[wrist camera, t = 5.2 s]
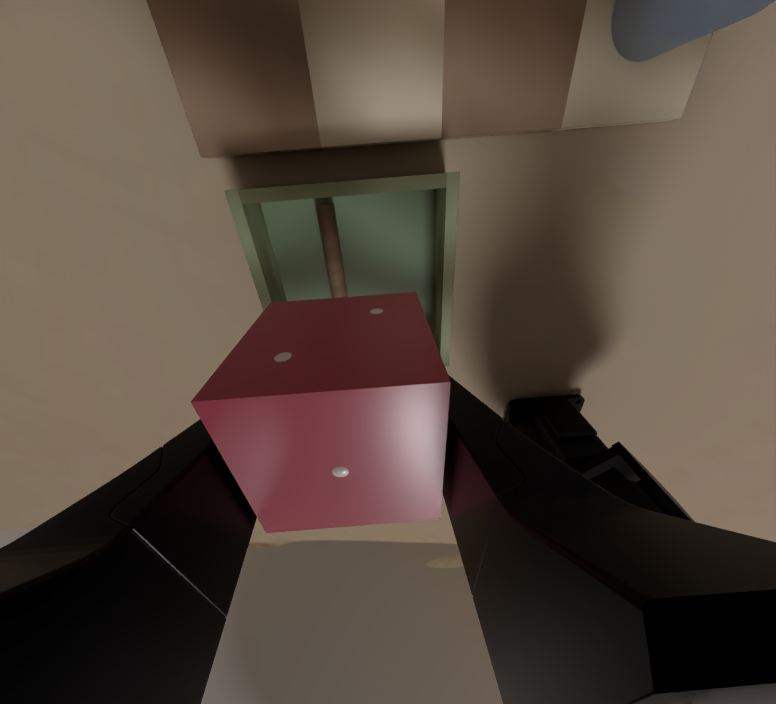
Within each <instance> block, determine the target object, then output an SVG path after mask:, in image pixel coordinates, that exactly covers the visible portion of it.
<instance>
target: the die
mask: <svg viewBox="0 0 776 704" xmlns="http://www.w3.org/2000/svg"><path fill="white" fill-rule="evenodd" d="M450 385H451V381H450V379H449V376H448V374H447V371H446V368H445V366H444V363H443V361H442V358H441V355H440V353H439V350H438V348H437V345H436V342H435V340H434V337H433V334H432V332H431V329H430V327H429V324H428V321H427V319H426V316H425V314H424V311H423V308H422V306H421V303H420V301H419V298H418V295H417V293H416V292H407V293H394V294H380V295H366V296H353V297H339V298H326V299H312V300H298V301H285V302H271V303H270V304H269V305H268V306H267V308H266V309H265V310H264V311H263V313H262V314H261V315H260V316H259V318H258V319H257V320H256V321H255V323H254V324H253V325H252V326H251V328H250V329H249V330H248V331H247V333H246V334H245V335H244V336H243V338H242V339H241V340H240V341H239V342H238V344H237V345H236V346H235V347H234V349H233V350H232V351H231V352H230V354H229V355H228V356H227V357H226V359H225V360H224V361H223V362H222V364H221V365H220V366H219V367H218V369H217V370H216V371H215V372H214V374H213V375H212V376H211V377H210V379H209V380H208V381H207V382H206V384H205V385H204V386H203V387H202V389H201V390H200V391H199V392H198V393H197V395H196V396H195V397H194V398H193V400H192V401H191V403H192V405H193V407H194V409H195V410H196V412H197V414H198V415H199V417H200V419H201V421H202V422H203V424H204V426H205V428H206V429H207V431H208V433H209V435H210V436H211V438H212V440H213V441H214V443H215V445H216V447H217V448H218V450H219V452H220V454H221V455H222V457H223V459H224V461H225V462H226V464H227V466H228V467H229V469H230V471H231V473H232V474H233V476H234V478H235V480H236V481H237V483H238V485H239V487H240V488H241V490H242V492H243V494H244V495H245V497H246V499H247V500H248V502H249V504H250V506H251V507H252V509H253V511H254V513H255V514H256V516H257V518H258V520H259V521H260V523H261V525H262V526H263V528H264V530H265V532H266V533H273V532H285V531H298V530H310V529H322V528H334V527H347V526H359V525H371V524H383V523H396V522H408V521H420V520H432V519H440V515H441V502H442V489H443V476H444V463H445V450H446V437H447V424H448V411H449V398H450Z"/></svg>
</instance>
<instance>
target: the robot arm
mask: <svg viewBox="0 0 776 704" xmlns="http://www.w3.org/2000/svg"><path fill="white" fill-rule="evenodd" d="M448 376H449V375H448ZM449 379H450V381H451V385H450V398H449V411H448V424H447V437H446V450H445V463H444V476H443V489H442V492H443V496H444V499H445V503H446V506H447V510H448V513H449V517H450V520H451V524H452V527H453V531H454V534H455V537H456V541H457V544H458V548H459V551H460V555H461V558H462V562H463V565H464V568H465V572H466V576H467V579H468V582H469V586H470V589H471V593H472V595H473V600H474V603H475V607H476V610H477V614H478V617H479V621H480V624H481V628H482V631H483V635H484V638H485V642H486V645H487V649H488V652H489V655H490V659H491V662H492V666H493V669H494V672H495V676H496V680H497V683H498V687H499V690H500V694H501V697H502V700H503V703H504V704H776V542H772V541H768V540H764V539H760V538H756V537H752V536H748V535H744V534H740V533H736V532H732V531H728V530H724V529H720V528H716V527H712V526H708V525H704V524H700V523H697V522H695V521H694V520H693V519H692V518H691V517H690V516H689V514H688V513H687V512H686V511H685V510H684V509H683V508H682V507H681V505H680V504H679V503H678V502H677V501H676V500H675V499H674V498H673V496H672V495H671V494H670V493H669V492H668V491H667V490H666V489H665V488H664V487H663V486H662V485H661V484H660V483H659V482H658V481H657V480H656V478H655V477H654V476H653V475H652V474H651V473H650V472H649V471H648V470H647V469H646V468H645V467H644V466H643V465H642V464H641V463H640V462H639V461H638V460H637V459H636V458H635V457H634V456H633V455H632V454H631V453H630V452H629V451H628V450H627V449H626V448H625V447H624V446H623V445H622V444H621V443H620V442H617V443H615V444H613V445H612V447H611V448H609V449H608V448H607V447H606V445H605V444H604V443H603V442H602V441H601V440H600V439H599V437H598V436H597V432H596V430H595V429H594V428H593V427H592V426H591V425H590V424H589V422H588V421H587V420H586V419H585V418H584V417H583V416H582V414H581V413H580V411H581V409H582V406H583V404H584V398H583V397H582V396H581V395H566V396H554V397H541V398H529V399H517V400H512V401H510V402H509V404H508V409H507V413H506V418H505V420H503V418H502V417H500V416H499V415H498V414H496V413H495V412H494V411H493V410H491V409H490V408H489V407H488V406H486V405H485V404H484V403H483V402H481V401H480V400H479V399H478V398H476V397H475V396H474V395H473V394H471V393H470V392H469V391H468V390H466V389H465V388H464V387H463V386H461V385H460V384H459V383H458V382H456V381H455V380H454V379H453V378H451V377H450V376H449ZM256 518H257V516H256V514H255V513H254V511H253V509H252V507H251V506H250V504H249V502H248V500H247V499H246V497H245V495H244V494H243V492H242V490H241V488H240V487H239V485H238V483H237V481H236V480H235V478H234V476H233V474H232V473H231V471H230V469H229V467H228V466H227V464H226V462H225V461H224V459H223V457H222V455H221V454H220V452H219V450H218V448H217V447H216V445H215V443H214V441H213V440H212V438H211V436H210V435H209V433H208V431H207V429H206V428H205V426H204V424H203V422H202V421H201V419H200V420H199V421H197V422H196V423H194V424H193V425H191V426H190V427H189V428H187V429H186V430H184V431H183V432H181V433H180V434H178V435H177V436H176V437H174V438H173V439H171V440H170V441H168V442H167V443H166V444H164V445H163V447H160V448H158V449H157V450H155V451H154V452H153V453H151V454H150V455H148V456H147V457H145V458H144V459H143V460H141V461H140V462H138V463H137V464H135V465H134V466H132V467H131V468H129V469H128V470H126V471H125V472H123V473H122V474H120V475H119V476H117V477H116V478H114V479H112V480H111V481H109V482H108V483H106V484H105V485H103V486H101V487H100V488H98V489H97V490H95V491H94V492H92V493H90V494H89V495H87V496H86V497H84V498H82V499H81V500H79V501H78V502H76V503H74V504H73V505H71V506H70V507H68V508H66V509H65V510H63V511H62V512H60V513H58V514H57V515H55V516H54V517H52V518H51V519H49V520H47V521H46V522H44V523H43V524H41V525H39V526H38V527H36V528H35V529H33V530H31V531H30V532H28V533H27V534H25V535H23V536H22V537H20V538H18V539H17V540H15V541H13V542H12V543H10V544H8V545H6V546H4V547H2V548H0V704H201V700H202V698H203V694H204V691H205V687H206V684H207V681H208V678H209V674H210V671H211V668H212V664H213V661H214V657H215V655H216V651H217V648H218V645H219V641H220V638H221V635H222V631H223V628H224V624H225V621H226V618H225V617H226V616H227V614H228V611H229V608H230V604H231V601H232V598H233V594H234V591H235V587H236V584H237V581H238V578H239V574H240V571H241V568H242V564H243V561H244V557H245V555H246V551H247V548H248V545H249V541H250V538H251V535H252V532H253V528H254V525H255V522H256Z"/></svg>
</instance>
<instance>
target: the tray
mask: <svg viewBox="0 0 776 704" xmlns="http://www.w3.org/2000/svg"><path fill="white" fill-rule="evenodd" d="M459 178H460V172H451V173H438V174H425V175H413V176H400V177H388V178H376V179H363V180H351V181H338V182H326V183H314V184H301V185H289V186H276V187H264V188H251V189H240V190H228V191H225V194H226V197H227V201H228V204H229V207H230V210H231V213H232V216H233V219H234V222H235V225H236V228H237V231H238V234H239V237H240V240H241V243H242V246H243V249H244V252H245V256H246V259H247V262H248V265H249V268H250V271H251V274H252V277H253V280H254V283H255V286H256V289H257V292H258V295H259V298H260V301H261V304H262V307H263V310H265V309H266V308H267V306H268V305H269V304H270V303H271V302H285V301H298V300H312V299H326V298H339V297H353V296H366V295H380V294H394V293H407V292H416V293H417V295H418V298H419V301H420V303H421V306H422V308H423V311H424V314H425V316H426V319H427V321H428V324H429V327H430V329H431V332H432V334H433V337H434V340H435V342H436V345H437V348H438V350H439V353H440V355H441V358H442V361H443V363H444V366H449V355H450V337H451V319H452V302H453V284H454V267H455V249H456V231H457V214H458V196H459Z"/></svg>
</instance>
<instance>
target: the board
mask: <svg viewBox="0 0 776 704" xmlns="http://www.w3.org/2000/svg"><path fill="white" fill-rule="evenodd" d="M147 3H148V6H149V8H150V11H151V14H152V17H153V20H154V23H155V26H156V29H157V32H158V34H159V37H160V40H161V43H162V46H163V49H164V52H165V55H166V57H167V60H168V63H169V66H170V69H171V72H172V75H173V78H174V81H175V83H176V86H177V89H178V92H179V95H180V98H181V101H182V104H183V107H184V109H185V112H186V115H187V118H188V121H189V124H190V127H191V130H192V133H193V135H194V138H195V141H196V144H197V147H198V150H199V153H200V156H201V157H205V158H220V157H232V156H245V155H257V154H269V153H282V152H294V151H307V150H319V149H332V148H344V147H357V146H369V145H382V144H394V143H407V142H419V141H431V140H444V139H456V138H469V137H481V136H494V135H506V134H519V133H531V132H544V131H556V130H569V129H581V128H593V127H606V126H618V125H631V124H643V123H656V122H665V121H671V120H676V119H681V117H682V114H683V112H684V109H685V106H686V104H687V101H688V98H689V96H690V93H691V90H692V88H693V85H694V82H695V80H696V77H697V74H698V72H699V69H700V66H701V64H702V61H703V59H704V56H705V53H706V51H707V48H708V45H709V43H710V40H711V37H712V35H713V32H712V33H709V34H707V35H705V36H703V37H700V38H698V39H696V40H693V41H691V42H689V43H686V44H684V45H682V46H679V47H677V48H675V49H672V50H670V51H668V52H665V53H663V54H661V55H658V56H656V57H654V58H651V59H649V60H646V61H641V62H633V61H629V60H626V59H625V58H623V57H622V56H621V55H620V54H619V53H618V51H617V50H616V48H615V45H614V43H613V38H612V31H611V21H612V13H613V8H614V4H615V0H147Z"/></svg>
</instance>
